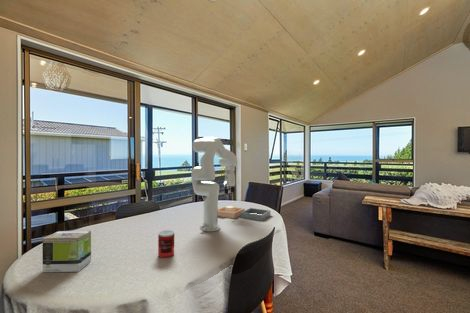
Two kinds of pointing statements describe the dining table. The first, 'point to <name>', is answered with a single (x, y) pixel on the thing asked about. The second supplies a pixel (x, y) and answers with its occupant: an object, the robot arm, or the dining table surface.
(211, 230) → the robot arm
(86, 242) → the tea box
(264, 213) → the bin
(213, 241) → the dining table surface
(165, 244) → the canned food
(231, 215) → the tub
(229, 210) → the stone block
